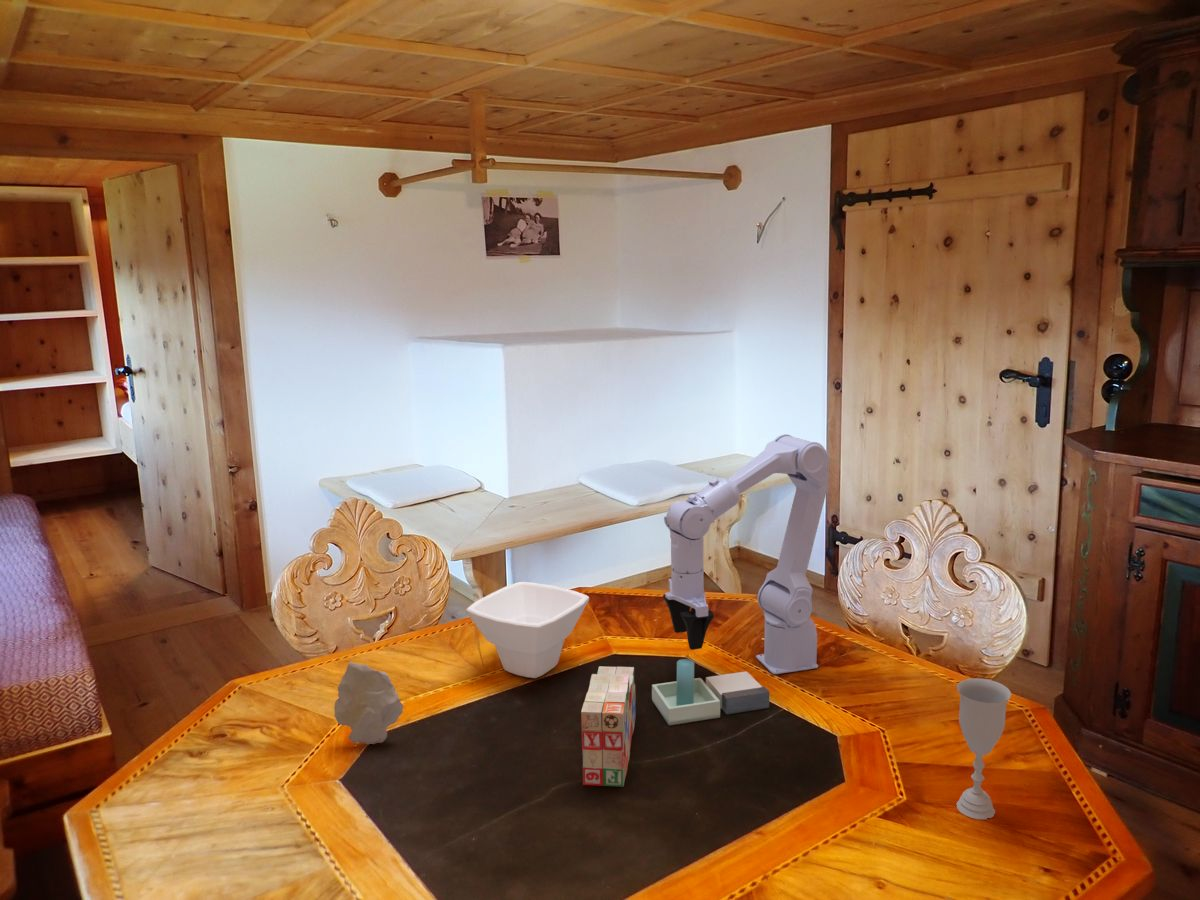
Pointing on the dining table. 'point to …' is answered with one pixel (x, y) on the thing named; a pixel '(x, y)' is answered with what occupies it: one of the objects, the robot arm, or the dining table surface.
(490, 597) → the bowl
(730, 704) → the bench dog
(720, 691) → the pale grey box
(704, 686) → the tray
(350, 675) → the stone tool
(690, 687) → the dowel
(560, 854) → the dining table surface
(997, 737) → the chalice
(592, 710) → the stack of blocks
